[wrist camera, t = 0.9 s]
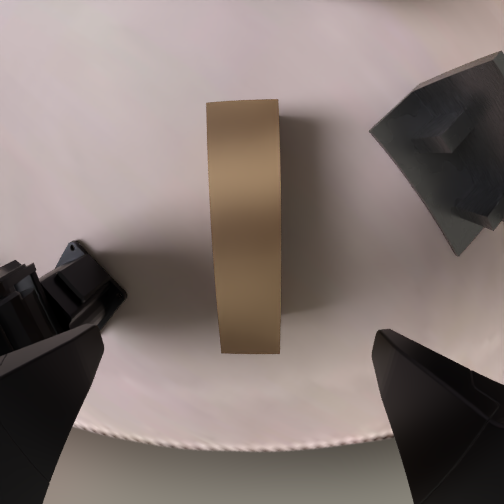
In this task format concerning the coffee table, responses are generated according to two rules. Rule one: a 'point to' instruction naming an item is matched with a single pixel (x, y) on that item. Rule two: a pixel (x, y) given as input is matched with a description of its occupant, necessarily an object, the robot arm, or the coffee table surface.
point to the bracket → (453, 147)
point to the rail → (246, 222)
